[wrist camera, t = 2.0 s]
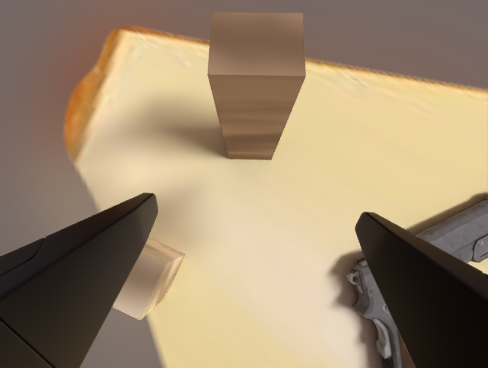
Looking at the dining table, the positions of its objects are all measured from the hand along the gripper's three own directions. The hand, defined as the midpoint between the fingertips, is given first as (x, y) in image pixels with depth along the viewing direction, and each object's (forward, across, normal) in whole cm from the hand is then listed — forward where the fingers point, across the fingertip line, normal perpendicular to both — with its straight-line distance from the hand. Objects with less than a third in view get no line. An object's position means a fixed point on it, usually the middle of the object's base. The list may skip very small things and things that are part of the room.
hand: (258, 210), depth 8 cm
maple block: (+6, +9, +13) cm, 17 cm away
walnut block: (+16, 0, +2) cm, 16 cm away
